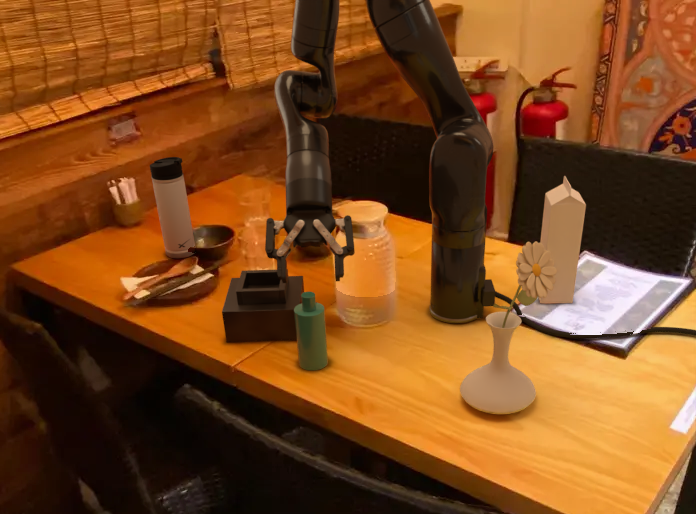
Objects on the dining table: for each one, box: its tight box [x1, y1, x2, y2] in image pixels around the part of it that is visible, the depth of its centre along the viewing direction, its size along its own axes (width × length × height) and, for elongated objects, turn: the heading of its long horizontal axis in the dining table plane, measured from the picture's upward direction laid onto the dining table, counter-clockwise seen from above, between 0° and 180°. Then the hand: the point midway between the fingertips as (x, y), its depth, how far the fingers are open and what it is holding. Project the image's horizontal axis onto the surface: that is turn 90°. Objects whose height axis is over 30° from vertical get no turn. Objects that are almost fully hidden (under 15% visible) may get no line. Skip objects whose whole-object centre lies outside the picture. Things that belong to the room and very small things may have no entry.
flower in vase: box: [459, 241, 557, 415], centre depth 112 cm, size 13×11×25 cm
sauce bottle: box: [294, 291, 329, 371], centre depth 125 cm, size 5×5×12 cm
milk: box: [537, 175, 587, 304], centre depth 140 cm, size 6×6×22 cm
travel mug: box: [149, 156, 196, 259], centre depth 160 cm, size 6×7×20 cm
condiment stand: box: [221, 268, 305, 343], centre depth 137 cm, size 13×13×8 cm
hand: (311, 280), depth 125 cm, fingers open, 8 cm apart
